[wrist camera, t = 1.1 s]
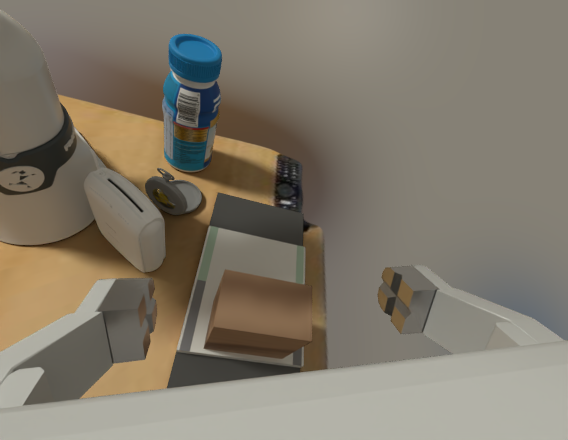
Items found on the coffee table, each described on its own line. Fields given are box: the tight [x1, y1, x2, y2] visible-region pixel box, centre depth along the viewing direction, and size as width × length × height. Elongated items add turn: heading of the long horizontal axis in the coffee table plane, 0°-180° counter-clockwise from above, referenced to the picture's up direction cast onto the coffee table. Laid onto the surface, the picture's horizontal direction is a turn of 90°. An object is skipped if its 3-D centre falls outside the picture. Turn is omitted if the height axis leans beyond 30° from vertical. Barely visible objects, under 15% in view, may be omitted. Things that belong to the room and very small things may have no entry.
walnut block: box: [203, 269, 312, 359], centre depth 34 cm, size 6×10×10 cm, turn 87°
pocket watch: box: [145, 168, 202, 215], centre depth 43 cm, size 8×8×10 cm
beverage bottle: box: [162, 34, 222, 172], centre depth 45 cm, size 8×8×20 cm
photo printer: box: [84, 168, 166, 273], centre depth 36 cm, size 10×4×12 cm, turn 52°
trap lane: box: [167, 193, 305, 388], centre depth 42 cm, size 34×16×2 cm, turn 177°
